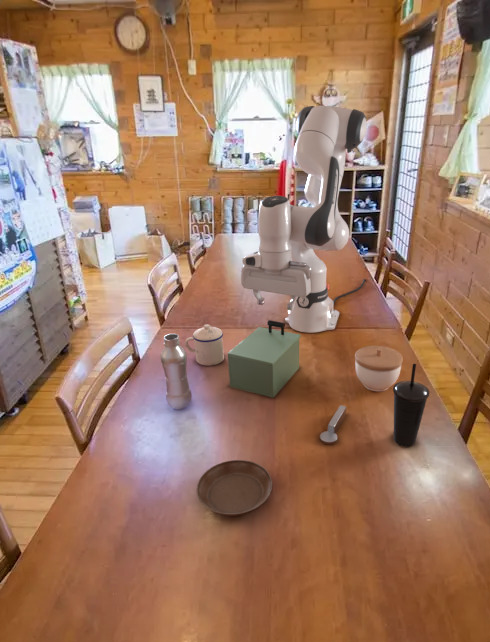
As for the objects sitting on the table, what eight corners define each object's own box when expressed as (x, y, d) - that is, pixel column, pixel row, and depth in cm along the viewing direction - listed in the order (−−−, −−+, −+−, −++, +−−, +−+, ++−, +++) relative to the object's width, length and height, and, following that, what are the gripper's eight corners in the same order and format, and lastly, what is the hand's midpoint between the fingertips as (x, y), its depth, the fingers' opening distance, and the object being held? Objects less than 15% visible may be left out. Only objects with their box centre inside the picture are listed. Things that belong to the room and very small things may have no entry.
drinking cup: (422, 433, 107) (433, 358, 98) (420, 454, 100) (432, 376, 92) (389, 427, 109) (397, 353, 100) (385, 446, 103) (394, 370, 94)
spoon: (335, 413, 115) (335, 403, 114) (350, 416, 113) (351, 407, 112) (317, 442, 105) (317, 432, 103) (333, 446, 103) (334, 436, 102)
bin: (258, 359, 141) (257, 330, 137) (299, 368, 136) (299, 338, 131) (229, 386, 127) (227, 355, 122) (273, 397, 121) (272, 366, 117)
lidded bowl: (344, 385, 126) (346, 350, 122) (369, 368, 135) (371, 335, 130) (384, 402, 118) (388, 365, 114) (407, 383, 127) (412, 348, 122)
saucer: (204, 468, 97) (203, 458, 96) (273, 469, 97) (273, 459, 96) (191, 524, 84) (189, 513, 83) (270, 525, 83) (270, 514, 82)
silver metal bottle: (197, 401, 120) (190, 333, 112) (182, 415, 115) (173, 344, 106) (177, 396, 123) (168, 329, 114) (162, 409, 117) (151, 340, 109)
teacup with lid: (227, 353, 145) (225, 319, 140) (221, 367, 137) (218, 332, 132) (191, 351, 146) (187, 318, 141) (182, 365, 138) (178, 330, 133)
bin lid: (259, 329, 138) (258, 315, 136) (300, 337, 132) (300, 322, 130) (227, 355, 122) (226, 340, 120) (272, 365, 117) (272, 350, 115)
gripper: (315, 260, 122) (313, 308, 127) (248, 252, 130) (249, 298, 135) (306, 266, 116) (305, 316, 122) (237, 258, 124) (239, 305, 130)
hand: (275, 306), depth 129 cm, fingers open, 8 cm apart
